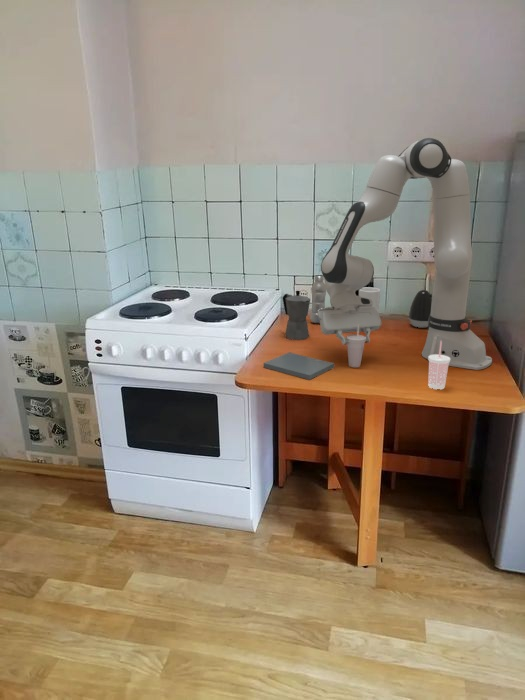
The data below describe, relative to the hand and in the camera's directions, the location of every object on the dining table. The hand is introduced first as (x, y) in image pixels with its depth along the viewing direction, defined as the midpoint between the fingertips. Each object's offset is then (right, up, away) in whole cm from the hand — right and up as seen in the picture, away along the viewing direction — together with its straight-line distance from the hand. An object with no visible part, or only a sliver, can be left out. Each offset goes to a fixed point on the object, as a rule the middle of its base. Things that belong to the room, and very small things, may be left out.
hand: (356, 343), depth 173 cm
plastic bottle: (-7, +9, +54) cm, 55 cm away
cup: (+12, +6, +46) cm, 48 cm away
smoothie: (0, -8, +3) cm, 8 cm away
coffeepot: (-17, +3, +35) cm, 40 cm away
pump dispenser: (+35, +7, +48) cm, 60 cm away
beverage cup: (+21, -13, -15) cm, 29 cm away
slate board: (-18, -8, +1) cm, 20 cm away
